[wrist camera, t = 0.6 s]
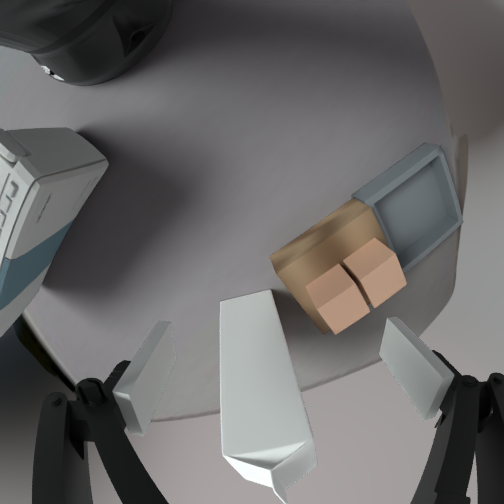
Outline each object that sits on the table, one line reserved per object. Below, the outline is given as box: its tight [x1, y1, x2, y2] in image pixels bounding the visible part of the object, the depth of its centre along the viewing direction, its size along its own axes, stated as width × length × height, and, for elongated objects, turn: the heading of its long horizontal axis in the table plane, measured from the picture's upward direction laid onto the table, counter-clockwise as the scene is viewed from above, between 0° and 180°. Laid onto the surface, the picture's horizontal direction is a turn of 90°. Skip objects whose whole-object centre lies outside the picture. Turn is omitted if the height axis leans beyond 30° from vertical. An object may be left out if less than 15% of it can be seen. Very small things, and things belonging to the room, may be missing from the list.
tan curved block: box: [270, 198, 390, 334], centre depth 28 cm, size 11×10×4 cm
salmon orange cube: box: [343, 238, 407, 308], centre depth 24 cm, size 4×4×4 cm
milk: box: [220, 289, 317, 504], centre depth 22 cm, size 6×6×22 cm
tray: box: [352, 143, 463, 274], centre depth 27 cm, size 12×11×3 cm
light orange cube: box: [305, 264, 370, 335], centre depth 25 cm, size 4×4×4 cm
